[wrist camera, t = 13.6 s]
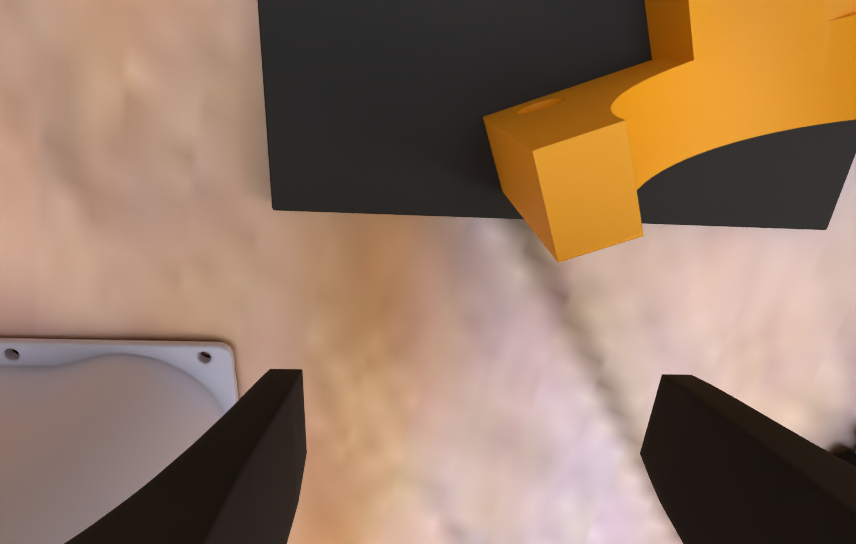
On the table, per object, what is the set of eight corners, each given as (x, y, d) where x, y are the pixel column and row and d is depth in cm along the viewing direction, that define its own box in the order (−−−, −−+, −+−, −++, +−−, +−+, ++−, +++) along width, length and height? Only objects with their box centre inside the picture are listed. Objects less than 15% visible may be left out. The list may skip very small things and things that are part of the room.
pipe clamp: (863, -77, 15) (1183, -169, 9) (858, 76, 16) (1123, 86, 10) (467, 60, 15) (511, 61, 9) (502, 191, 17) (558, 262, 11)
